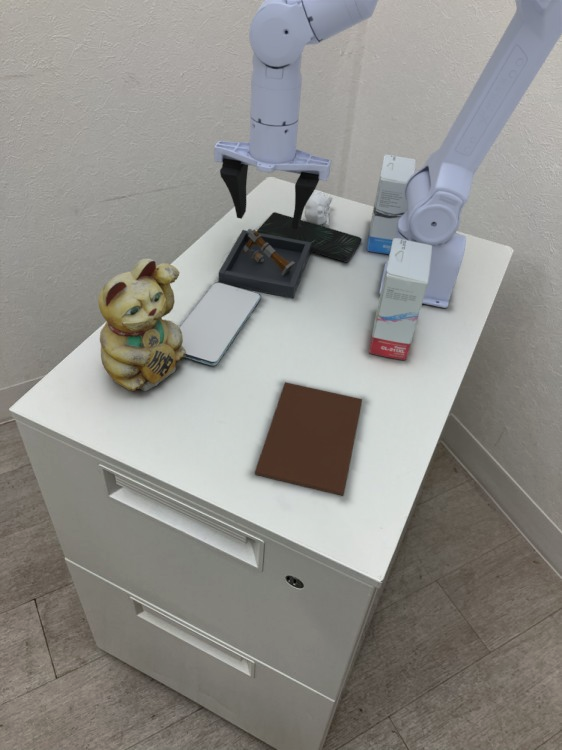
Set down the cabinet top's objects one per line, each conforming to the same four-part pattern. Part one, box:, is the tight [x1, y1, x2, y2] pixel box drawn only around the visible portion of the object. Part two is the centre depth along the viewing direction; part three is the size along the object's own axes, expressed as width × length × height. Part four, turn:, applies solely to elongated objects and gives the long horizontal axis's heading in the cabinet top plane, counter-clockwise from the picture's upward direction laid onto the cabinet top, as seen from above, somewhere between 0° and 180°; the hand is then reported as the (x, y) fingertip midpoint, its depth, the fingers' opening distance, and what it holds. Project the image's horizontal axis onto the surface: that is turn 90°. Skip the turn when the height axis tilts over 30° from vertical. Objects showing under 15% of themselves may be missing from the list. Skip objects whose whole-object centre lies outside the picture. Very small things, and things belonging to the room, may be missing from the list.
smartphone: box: [179, 281, 262, 366], centre depth 73 cm, size 7×1×15 cm
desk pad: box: [254, 382, 363, 496], centre depth 61 cm, size 9×13×1 cm
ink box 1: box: [366, 154, 417, 255], centre depth 86 cm, size 8×5×12 cm, turn 168°
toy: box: [303, 190, 333, 227], centre depth 92 cm, size 6×8×4 cm
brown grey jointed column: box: [243, 228, 294, 276], centre depth 82 cm, size 2×8×4 cm, turn 56°
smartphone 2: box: [256, 211, 362, 263], centre depth 88 cm, size 7×1×15 cm
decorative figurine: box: [97, 258, 186, 392], centre depth 62 cm, size 10×8×15 cm
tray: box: [218, 229, 311, 299], centre depth 82 cm, size 11×12×2 cm
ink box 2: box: [368, 238, 432, 361], centre depth 70 cm, size 9×5×12 cm, turn 166°
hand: (268, 219), depth 77 cm, fingers open, 7 cm apart
